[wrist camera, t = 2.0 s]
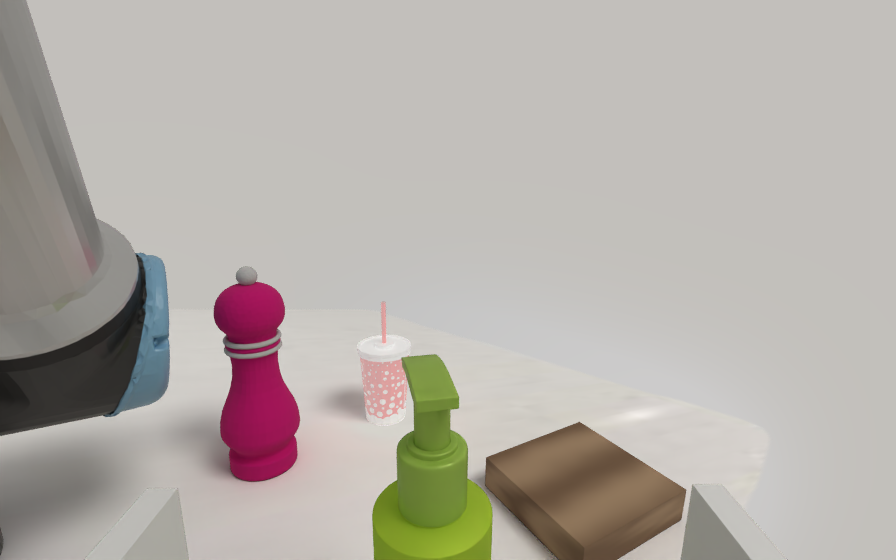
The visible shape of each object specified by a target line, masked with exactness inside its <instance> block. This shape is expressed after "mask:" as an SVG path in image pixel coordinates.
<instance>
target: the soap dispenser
mask: <svg viewBox="0 0 896 560" xmlns="http://www.w3.org/2000/svg"><path fill="white" fill-rule="evenodd" d="M401 360H402V368H403V369H404V372H405V374H406V377H407V381H408V384H409V388H410V391H411V395H412V399H413V402H414V431H412V432H410V433H408V434H407V435H405V436H404V437H403V438H402V439H401V440H400V441H399V443H398V446H397V481H395V482H393V483H392V484H390V485H389V486H388V487H387V488H386V489H385V490H384V491H383V492H382V493H381V494H380V495H379V497H378V498H377V500H376V502H375V505H374V508H373V514H372V520H373V543H374V560H491V543H492V507H491V503H490V501H489V498H488V497H487V495H486V494H485V492H484V491H483V490H482V489H481V488H480V487H479V486H478V485H477V484H475V483H474V482H472V481H471V480H469V479H467V470H468V448H467V444H466V441H465V440H464V439H463V438H462V437H461V436H460V435H459V434H458V433H456V432H454V431H452V430H450V409H458V408H459V396H458V393H457V391H456V389H455V386H454V384H453V382H452V379H451V377H450V375H449V372H448V370H447V368H446V366H445V365H444V363H443V361H442V360H441V359H440V358H439V357H438V356H437V355H435V354H434V355H422V356H411V357H401Z"/></svg>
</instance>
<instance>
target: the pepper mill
mask: <svg viewBox="0 0 896 560" xmlns="http://www.w3.org/2000/svg"><path fill="white" fill-rule="evenodd" d="M236 279H237V281H238V282H239V284H235V285H233V286H230V287H229V288H227V289H225V290H224V291H223V292H222V293H221V294H220V295H219V297H218V298H217V300H216V302H215V306H214V319H215V323H216V325H217V326H218V328H219V329H220V330H221V331H223V332H224V333H225V334H226V336H225V337H224V339H223V343H224V345H225V348H224V352H225V354H226V355H227V356H229V357H230V359H231V363H232V382H231V387H230V390H229V394H228V396H227V399H226V402H225V405H224V407H223V410H222V416H221V421H220V432H221V437H222V440H223V441H224V443H225V444H226V445H227V446H228V447H230V448H231V449H230V452H229V459H230V468H231V472H232V473H233V474H234V475H235V476H236V477H238V478H240V479H241V480H247V481H262V480H267V479H271V478H273V477H276V476H278V475H280V474H282V473H284V472H286V471H287V470H288V469H289V468H291V467H292V465H293V464H294V463H295V461H296V459H297V442H296V438H295V436H294V434H295V433H296V431H297V429H298V427H299V423H300V416H299V410H298V406H297V403H296V401H295V399H294V397H293V395H292V394H291V392H290V391H289V389H288V388H287V386H286V384H285V383H284V381H283V379H282V376H281V373H280V369H279V363H278V349H280V347H281V346H282V341H281V340H280V337H281V332H280V330H278V329H277V328H278V327H279V325H280V324H281V323H282V321H283V319H284V315H285V307H284V303H283V299H282V297H281V295H280V294H279V293H278V291H277V290H276V289H274V288H273V287H271V286H269V285H267V284H264V283H260V282H256V280H257V272H256V271H255V270H254V269H253V268H251V267H247V266H246V267H242V268H240V269H239V270H238V271H237V273H236Z"/></svg>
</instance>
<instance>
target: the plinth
mask: <svg viewBox="0 0 896 560" xmlns="http://www.w3.org/2000/svg"><path fill="white" fill-rule="evenodd" d="M485 486H486V487H487V488H488V489H489V490H490V491H491V492H492V493H493V494H494V495H495V496H496V497H497V498H498V499H499V500H500V501H501V502H502V503H503V504H504V505H505V506H506V507H507V508H508V509H509V510H510V511H511V512H512V513H513V514H514V515H515V516H516V517H517V518H518V519H519V520H520V521H521V522H522V523H523V524H524V525H525V526H526V527H527V528H528V529H529V530H530V531H531V532H532V533H533V534H534V535H535V536H536V537H537V538H538V539H539V540H540V541H541V542H542V543H543V544H544V545H545V546H546V547H547V548H548V549H549V550H550V551H551V552H552V553H553V554H554V555H555V556H556V557H557V558H558V559H559V560H617V559H618V558H620V557H622V556H623V555H625V554H627V553H628V552H630V551H631V550H633V549H635V548H636V547H638V546H640V545H641V544H643V543H644V542H646V541H648V540H649V539H651V538H652V537H654V536H656V535H657V534H659V533H661V532H662V531H664V530H665V529H667V528H669V527H670V526H672V525H674V524H675V523H677V522H678V521H680V520H681V518H682V512H683V506H684V501H685V495H686V489H684V488H683V487H681V486H679V485H678V484H676V483H675V482H673V481H672V480H670V479H668V478H667V477H665V476H664V475H662V474H661V473H659V472H657V471H656V470H654V469H653V468H651V467H650V466H648V465H646V464H645V463H643V462H642V461H640V460H639V459H637V458H635V457H634V456H632V455H631V454H629V453H628V452H626V451H624V450H623V449H621V448H620V447H618V446H617V445H615V444H613V443H612V442H610V441H609V440H607V439H606V438H604V437H602V436H601V435H599V434H598V433H596V432H595V431H593V430H591V429H590V428H588V427H587V426H585V425H584V424H582V423H580V422H578V423H576V424H573V425H570V426H568V427H565V428H563V429H560V430H557V431H555V432H552V433H549V434H547V435H544V436H541V437H539V438H536V439H534V440H531V441H528V442H526V443H523V444H520V445H518V446H515V447H513V448H510V449H507V450H505V451H502V452H499V453H497V454H494V455H491V456H489V457H486V477H485Z"/></svg>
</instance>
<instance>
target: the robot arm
mask: <svg viewBox="0 0 896 560" xmlns="http://www.w3.org/2000/svg"><path fill="white" fill-rule="evenodd" d="M168 337H169V309H168V295H167V281H166V272H165V266H164V263H163V261H162V260H161V259H160V258H158V257H156V256H153V255H145V254H143V253H135V252H134V250H133V249H132V246H131V244H130V243H129V241H128V240H127V239H126V238H125V236H124V235H122V234H121V233H120V232H119V231H118V230H116V229H115V228H113V227H112V226H110V225H109V224H107V223H105V222H103V221H101V220H99V219H96V217H95V214H94V211H93V208H92V205H91V202H90V199H89V195H88V192H87V189H86V186H85V183H84V180H83V177H82V174H81V170H80V167H79V164H78V161H77V158H76V155H75V152H74V149H73V145H72V142H71V139H70V136H69V133H68V130H67V127H66V124H65V120H64V117H63V114H62V111H61V108H60V105H59V102H58V98H57V95H56V92H55V89H54V86H53V83H52V80H51V77H50V74H49V70H48V67H47V64H46V61H45V58H44V55H43V52H42V48H41V45H40V42H39V39H38V36H37V33H36V30H35V27H34V23H33V20H32V17H31V14H30V11H29V8H28V5H27V2H26V0H0V436H3V435H8V434H13V433H18V432H23V431H28V430H33V429H38V428H43V427H47V426H52V425H57V424H62V423H67V422H72V421H77V420H82V419H87V418H92V417H97V416H102V415H103V416H105V417H112V416H116V415H117V414H119V413H120V412H122V411H126V410H130V409H134V408H138V407H142V406H146V405H150V404H152V403H154V402H156V401H157V400H159V399H160V398H161V397H162V396H163V395H164V393H165V391H166V390H167V387H168V382H169V369H170V350H169V340H168ZM2 548H3V536H2V532H1V529H0V554H1V551H2ZM84 560H189V557H188V551H187V544H186V538H185V531H184V525H183V518H182V512H181V505H180V499H179V493H178V488H147V489H146V490H145V491H144V492H143V493H142V495H141V496H140V497H139V498H138V499H137V500H136V501H135V502H134V504H133V505H132V506H131V507H130V508H129V509H128V510H127V512H126V513H125V514H124V515H123V516H122V517H121V518H120V519H119V521H118V522H117V523H116V524H115V525H114V526H113V527H112V528H111V530H110V531H109V532H108V533H107V534H106V535H105V536H104V538H103V539H102V540H101V541H100V542H99V543H98V544H97V545H96V547H95V548H94V549H93V550H92V551H91V552H90V553H89V555H88V556H87V557H86V558H85V559H84ZM681 560H788V559H787V558H786V557H785V556H784V555H783V554H782V553H781V551H780V550H779V549H778V548H777V547H776V546H775V545H774V543H773V542H772V541H771V540H770V539H769V538H768V537H767V536H766V534H765V533H764V532H763V531H762V530H761V529H760V528H759V526H758V525H757V524H756V523H755V522H754V520H753V519H752V518H751V517H750V516H749V515H748V514H747V512H746V511H745V510H744V509H743V508H742V507H741V506H740V504H739V503H738V502H737V501H736V500H735V499H734V498H733V496H732V495H731V494H730V493H729V492H728V491H727V490H726V488H725V487H724V486H723V485H722V484H692V491H691V497H690V503H689V510H688V516H687V523H686V529H685V536H684V542H683V548H682V555H681Z"/></svg>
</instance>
